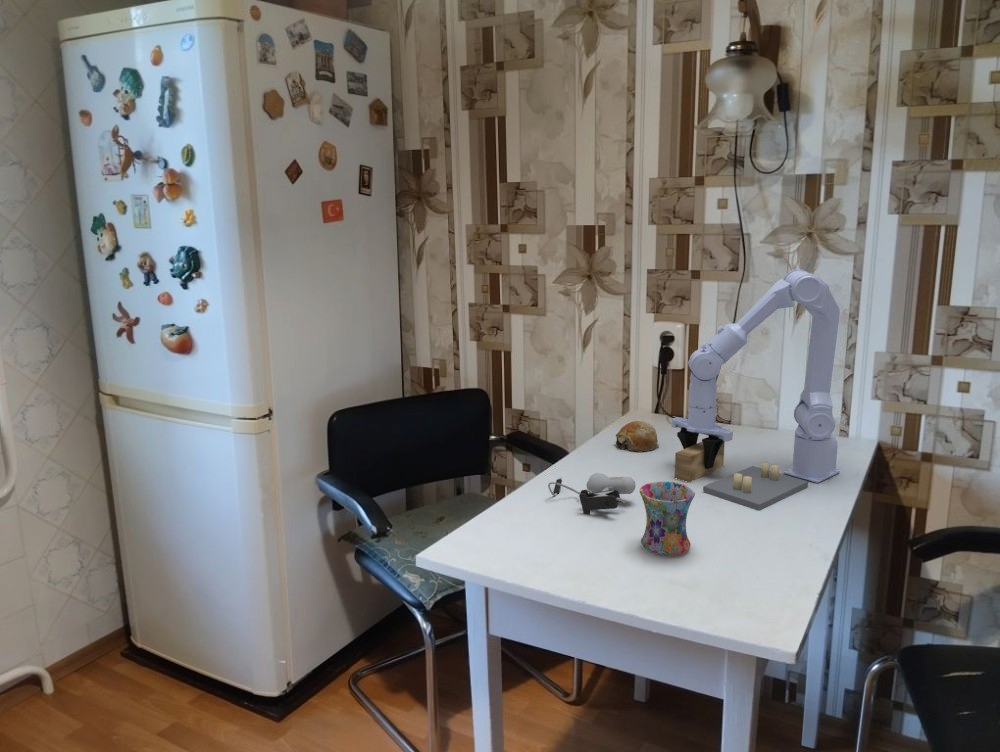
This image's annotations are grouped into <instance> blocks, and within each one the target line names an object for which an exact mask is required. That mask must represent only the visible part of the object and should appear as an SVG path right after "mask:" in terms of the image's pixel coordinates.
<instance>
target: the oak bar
mask: <svg viewBox="0 0 1000 752" xmlns="http://www.w3.org/2000/svg"><path fill="white" fill-rule="evenodd" d="M725 443H726V441H724V443H723V444H722V446H721V447H720V449H719V451H718V453H717V456H716V459H715V462H714V465H713V467H712V468H710V469H705V465H704V462H705V453H704V446H703V442H702V441H700V442H697V444H695V445H692V446H690V447H688V448H686V449H683V448H682V449H681V450H680V451H677V452H675V458H674V479H675V478H677V479H676V480H678V479H680V480H679V481H681V480H684V481H683V482H685V481H687V482H686V483H688V482H690V483H691V481H692V480H694V479H696V480H697V478H698V479H700V478H701V476H702V477H704V476H705V474H706V475H708V474H710V473H711V472H714V471H716V470H718V469H720V468H722V467H724V460H725ZM709 472H710V473H709ZM707 473H708V474H707ZM703 475H704V476H703ZM699 477H700V478H699ZM694 481H695V480H694ZM692 482H693V481H692Z"/></svg>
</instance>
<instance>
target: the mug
mask: <svg viewBox="0 0 1000 752" xmlns="http://www.w3.org/2000/svg"><path fill="white" fill-rule="evenodd" d="M639 494H640V496H641V499H642V502H643V504H644V509H645V515H646V516H645V517H646V521H645V522H646V523H645V524H646V525H645V530H644V534H643V535H642V537H641V539H640V544H641V546H642V547H643V549H645V550H646V551H648V552H651V553H653V554H655V555H660V556H677V555H681V554H684V553H685V552H687V551H689V549H690V548H691V541H690V539H689V538H688V537H689V536H688V533H687V516H688V512H689V509H690V507H691V503H692V501H693V499H694V497H695V495H696V493H695V490H694V489H693V488H692V487H691V486H688V485H686V484H683V483H680V482H676V481H664V480H663V481H653V482H649V483H646V484H644V485H642V486H641V487H640V489H639Z"/></svg>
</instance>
